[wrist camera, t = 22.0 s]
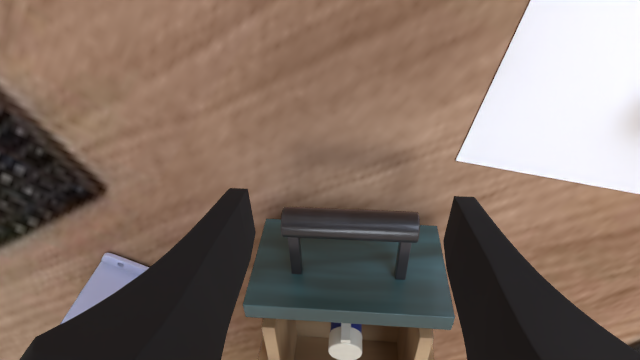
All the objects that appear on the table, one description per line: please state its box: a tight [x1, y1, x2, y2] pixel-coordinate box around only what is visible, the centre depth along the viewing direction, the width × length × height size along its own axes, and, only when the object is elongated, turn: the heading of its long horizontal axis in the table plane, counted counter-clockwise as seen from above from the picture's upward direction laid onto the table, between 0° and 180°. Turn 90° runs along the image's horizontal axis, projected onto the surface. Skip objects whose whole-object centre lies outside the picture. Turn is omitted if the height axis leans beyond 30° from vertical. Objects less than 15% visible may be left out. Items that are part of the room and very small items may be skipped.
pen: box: [328, 322, 362, 360], centre depth 27 cm, size 2×2×6 cm
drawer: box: [243, 207, 455, 360], centre depth 27 cm, size 18×11×7 cm, turn 2°
